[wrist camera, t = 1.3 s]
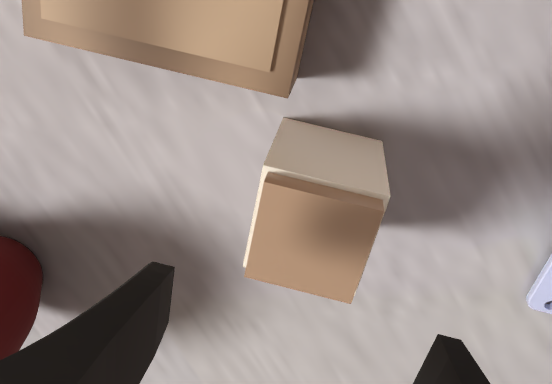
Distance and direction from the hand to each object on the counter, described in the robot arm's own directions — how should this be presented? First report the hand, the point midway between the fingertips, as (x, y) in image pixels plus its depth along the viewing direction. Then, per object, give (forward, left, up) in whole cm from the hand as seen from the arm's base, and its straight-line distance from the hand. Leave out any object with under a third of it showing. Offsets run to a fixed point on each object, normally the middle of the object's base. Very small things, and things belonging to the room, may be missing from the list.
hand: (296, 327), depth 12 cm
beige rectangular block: (0, 0, -10) cm, 10 cm away
